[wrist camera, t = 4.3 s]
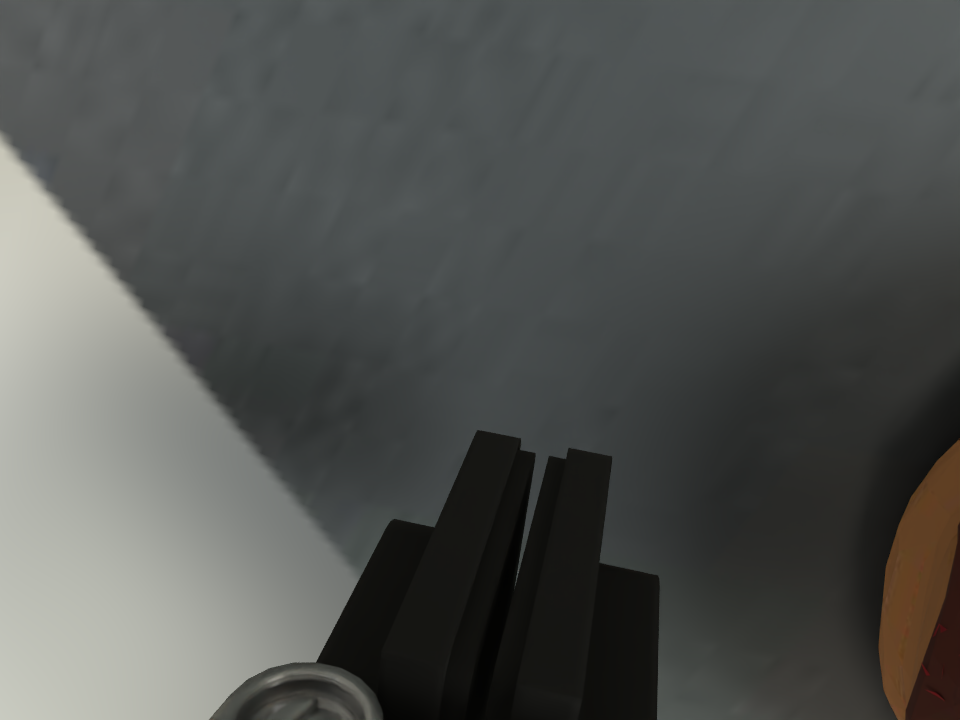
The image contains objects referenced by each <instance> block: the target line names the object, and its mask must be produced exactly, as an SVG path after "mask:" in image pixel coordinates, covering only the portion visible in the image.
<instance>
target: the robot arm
mask: <svg viewBox="0 0 960 720" xmlns="http://www.w3.org/2000/svg"><path fill="white" fill-rule="evenodd" d="M520 447H521V438H516V437H511V436H506V435H501V434H496V433H491V432H486V431H480V430H477V432H476V434H475V436H474V438H473V441H472V443H471V445H470V448H469V450H468V452H467V455H466V457H465V459H464V461H463V464H462V466H461V468H460V471H459V473H458V475H457V478H456V480H455V482H454V485H453V487H452V489H451V491H450V494H449V496H448V498H447V501H446V503H445V505H444V508H443V510H442V512H441V515H440V517H439V519H438V521H437V524H436V526H435V528H434V527H429V526H425V525H420V524H415V523H411V522H406V521H401V520H397V519H394V520H392V521H390V523H389V525H388V526H387V528H386V529H385V531H384V533H383V535H382V537H381V539H380V541H379V543H378V545H377V547H376V549H375V550H374V552H373V554H372V556H371V558H370V560H369V562H368V564H367V566H366V568H365V570H364V572H363V573H362V575H361V577H360V579H359V581H358V583H357V585H356V587H355V589H354V591H353V593H352V595H351V596H350V598H349V600H348V602H347V605H346V606H345V608H344V610H343V612H342V614H341V616H340V618H339V619H338V621H337V624H336V625H335V627H334V629H333V631H332V633H331V635H330V637H329V639H328V641H327V643H326V645H325V646H324V648H323V650H322V652H321V654H320V656H319V658H318V660H317V662H316V663H290V664H286V665H282V666H278V667H273V668H270V669H267V670H265V671H264V672H261V673H259V674H257V675H255V676H253V677H251V678H249V679H248V680H246V681H245V682H244V683H243V684H242V685H241V686H240V687H239V688H237V689H236V690H235V691H234V692H233V693H232V694H231V695H230V696H229V697H228V698H227V699H226V701H225V702H224V703H223V704H222V705H221V706H220V708H219V709H218V710H217V711H216V712H215V713H214V715H213V716H212V717H211V718H210V719H209V720H657V686H658V638H659V590H660V586H659V577H658V575H653V574H648V573H644V572H639V571H634V570H630V569H625V568H620V567H616V566H611V565H606V564H602V563H599V560H600V552H601V544H602V536H603V528H604V520H605V512H606V504H607V496H608V488H609V480H610V472H611V464H612V456H607V455H602V454H597V453H592V452H587V451H582V450H577V449H571V448H569V449H568V453H567V457H566V459H562V458H557V457H552V456H549V458H548V462H547V466H546V470H545V474H544V478H543V482H542V485H541V489H540V493H539V497H538V501H537V505H536V509H535V512H534V516H533V520H532V524H531V528H530V532H529V536H528V540H527V543H526V547H525V551H524V555H523V559H522V563H521V567H520V571H519V574H518V578H517V582H516V576H517V569H518V563H519V557H520V551H521V544H522V538H523V532H524V526H525V519H526V513H527V507H528V501H529V495H530V488H531V482H532V476H533V470H534V463H535V453H532V452H527V451H522V450H520ZM515 582H516V586H515ZM514 588H515V590H514Z"/></svg>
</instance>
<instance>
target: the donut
mask: <svg viewBox="0 0 960 720" xmlns="http://www.w3.org/2000/svg"><path fill="white" fill-rule="evenodd" d="M878 648H879V656H880V664H881V672H882V680H883V689H884V692H885V694H886V696H887V699H888V701H889V703H890V705H891V707H892V709H893V711H894V713H895V715H896V717H897V719H898V720H960V439H959V440H958V441H957V442H956V443H955V444H954V445H953V446H952V447H951V448H950V449H949V450H948V451H947V452H946V453H945V454H944V455H942V456H941V457H940V458H939V459H938V460H937V461H936V463H935V464H934V466H933V467H932V468H931V470H930V471H929V473H928V474H927V475H926V477H925V478H924V480H923V481H922V482H921V484H920V485H919V487H918V488H917V489H916V491H915V492H914V494H913V495H912V496H911V498H910V501H909V503H908V505H907V507H906V510H905V512H904V514H903V517H902V519H901V521H900V524H899V526H898V529H897V532H896V536H895V539H894V542H893V545H892V549H891V552H890V555H889V558H888V561H887V565H886V571H885V581H884V592H883V603H882V613H881V624H880V635H879V646H878Z"/></svg>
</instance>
